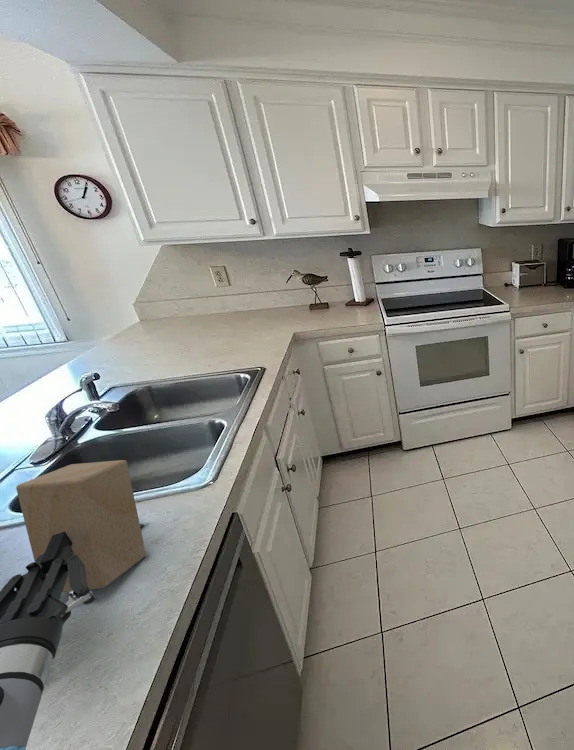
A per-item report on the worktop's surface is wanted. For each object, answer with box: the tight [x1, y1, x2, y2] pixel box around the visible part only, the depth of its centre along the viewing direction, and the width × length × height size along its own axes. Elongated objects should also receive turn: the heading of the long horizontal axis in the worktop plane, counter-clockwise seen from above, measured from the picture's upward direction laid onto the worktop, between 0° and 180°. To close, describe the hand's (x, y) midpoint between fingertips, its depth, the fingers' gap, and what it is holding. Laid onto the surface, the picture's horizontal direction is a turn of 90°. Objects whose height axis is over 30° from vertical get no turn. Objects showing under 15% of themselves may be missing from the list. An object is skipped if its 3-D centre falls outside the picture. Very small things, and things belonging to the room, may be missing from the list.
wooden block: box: [15, 459, 147, 593], centre depth 74 cm, size 10×10×20 cm
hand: (62, 539), depth 68 cm, fingers closed
